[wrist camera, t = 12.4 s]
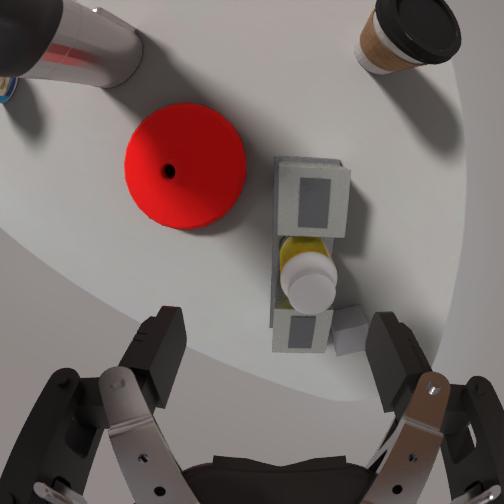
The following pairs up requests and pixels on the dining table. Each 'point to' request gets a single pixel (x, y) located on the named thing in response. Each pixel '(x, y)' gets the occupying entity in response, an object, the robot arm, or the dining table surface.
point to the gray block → (349, 330)
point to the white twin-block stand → (305, 224)
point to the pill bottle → (307, 273)
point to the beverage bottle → (7, 87)
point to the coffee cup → (407, 35)
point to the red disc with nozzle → (185, 166)
